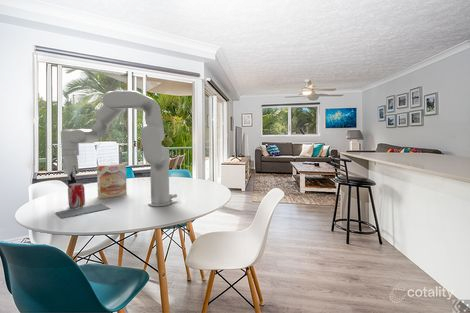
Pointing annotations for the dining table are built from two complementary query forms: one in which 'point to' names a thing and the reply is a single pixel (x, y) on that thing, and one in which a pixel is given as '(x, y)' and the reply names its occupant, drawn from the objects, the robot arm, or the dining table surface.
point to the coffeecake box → (111, 180)
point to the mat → (81, 211)
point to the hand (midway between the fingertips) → (72, 186)
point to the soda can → (76, 195)
